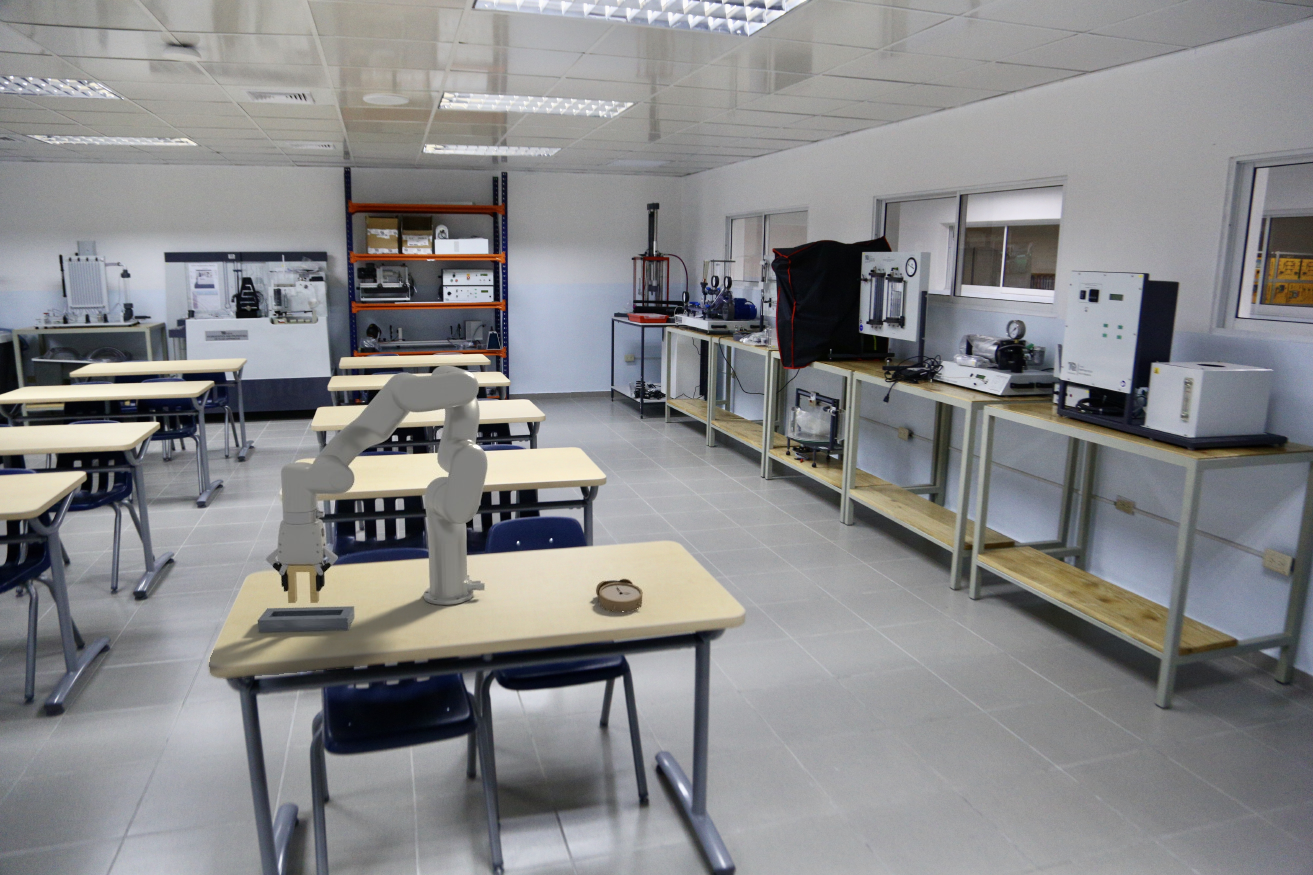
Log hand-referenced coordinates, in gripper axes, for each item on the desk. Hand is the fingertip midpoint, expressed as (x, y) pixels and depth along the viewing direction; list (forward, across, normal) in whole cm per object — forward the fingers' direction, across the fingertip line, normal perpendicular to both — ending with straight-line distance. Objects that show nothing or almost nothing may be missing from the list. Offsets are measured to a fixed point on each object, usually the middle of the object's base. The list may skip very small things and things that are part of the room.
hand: (303, 588), depth 199 cm
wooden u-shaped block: (+3, 0, 0) cm, 3 cm away
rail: (+9, 0, 0) cm, 9 cm away
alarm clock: (+8, -75, -11) cm, 77 cm away
